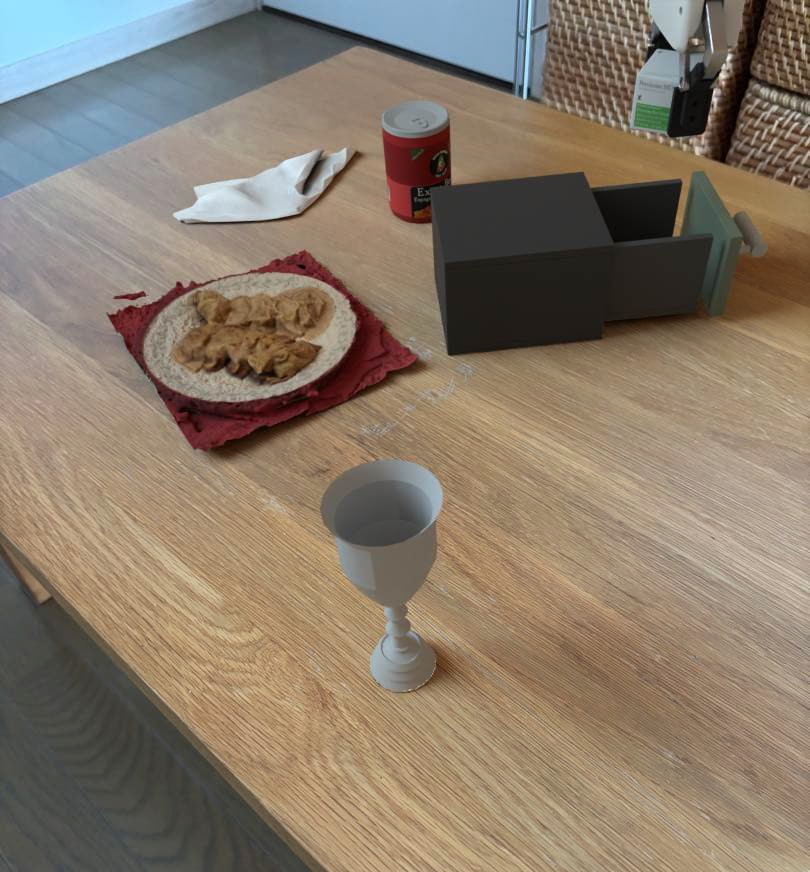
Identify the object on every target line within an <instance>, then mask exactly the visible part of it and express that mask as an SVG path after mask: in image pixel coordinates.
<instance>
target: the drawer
mask: <svg viewBox="0 0 810 872" xmlns="http://www.w3.org/2000/svg"><path fill="white" fill-rule="evenodd" d="M683 183H684V182H683V180H682V178H671V179H662V180H661V179H660V180H653V181H644V182H634V183H625V184H624V183H623V184H615V185H606V186H595V187H590V188H591V190H592V193H593V195H594V198H595V200H596V202H597V205H598V207H599V209H600V212H601V214H602V216H603V219H604V221H605V224H606V226H607V228H608V231H609V233H610V235H611V238H612V240H613V242H614V245H615V246H614V252H613V260H612V268H611V275H610V283H609V290H608V298H607V305H606V313H605V321H604V322H610V321H611V322H612V321H620V320H632V319H640V318H649V317H659V316H668V315H678V314H688V313H696V312H698V308H699V303H700V298H701V299H702V301H703V303H704V305H705V307H706V309H707V311H708V313H709V315H710V317H711V318H713V317H721V316H722V317H723V316H724V313H725V309H726V306H727V302H728V298H729V295H730V290H731V286H732V283H733V278H734V275H735V271H736V267H737V264H738V259H739V256H740V255H741V254H742V255H743V254H750V255H751V257H753V258H755V259H758V258H761V257H763V256H764V255H765V254H766V253H767V252H768V249H769V247H768V244H767V243H766V241H765V240H764V238H763V236H762V235H761V233H760V231H759V230H758V228H757V227H756V226H755V224H754V222H753V221H752V219H751V217H750V216H749V214H748V213H747V212H746V211H738V212H737V213H735V214H734V215H733V216H732V215H731V214H730V212H729V210H728V209H727V206H726V205H725V203H724V202H723V200H722V199H721V197H720V195H719V194H718V192H717V190H716V189H715V187H714V185H713V183H712V182H711V181H710V179H709V176H707V174H706V172H705V171H704V170H695V171H692V172H691V177H690V181H689V186H688V192H687V196H686V201H685V207H684V211H683V218H682V223H681V228H680V233H679V235H677V236H674V231H675V225H676V220H677V216H678V211H679V205H680V199H681V194H682V189H683V185H684V184H683Z"/></svg>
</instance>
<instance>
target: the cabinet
mask: <svg viewBox="0 0 810 872" xmlns="http://www.w3.org/2000/svg"><path fill="white" fill-rule="evenodd" d="M591 188H592V187H591V186H590V183H589V182H588V178H587V177H586V174H585V172H584V171H576V172H575V171H574V172H566V173H565V172H564V173H557V174H548V175H537V176H536V175H535V176H527V177H519V178H507V179H500V180H498V179H497V180H490V181H479V182H471V183H470V182H469V183H460V184H451V185H450V186H441V187H431V188H430V194H431V214H432V221H431V232H432V234H431V235H432V251H433V253H432V254H433V273H434V275H433V276H434V282H435V283H434V284H435V289H436V295H437V300H438V305H439V306H438V307H439V312H440V318H441V324H442V331H443V335H444V341H445V347H446V352H447V356H455V355H463V354H473V353H483V352H493V351H502V350H503V351H504V350H512V349H513V350H514V349H521V348H522V349H523V348H531V347H542V346H549V345H551V346H552V345H559V344H569V343H578V342H579V343H580V342H589V341H599V340H602V339H603V336H604V335H603V334H604V328H605V327H604V326H605V322H606V321H605V313H606V305H607V298H608V290H609V283H610V275H611V268H612V260H613V252H614V246H615V245H614V242H613V240H612V238H611V235H610V233H609V231H608V228H607V226H606V224H605V221H604V219H603V216H602V214H601V212H600V209H599V207H598V205H597V202H596V200H595V198H594V195H593V193H592V190H591Z"/></svg>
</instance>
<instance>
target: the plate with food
mask: <svg viewBox="0 0 810 872" xmlns="http://www.w3.org/2000/svg"><path fill="white" fill-rule="evenodd" d="M298 265H301V266H305V268H301V267H299V266H298ZM146 297H149V294H147V293H146V291H144V290H141V291H139V292H134V293H125V294H120V295H114V296H113V297H112V300H128V301H136V300H138V299H140V298H146ZM138 306H139V304H136V306H135V305H131V304H130V305H128V306H126V307H124V308H123V309H120V308H118V309H117V311H116V313H111V314H109V312H106V316H107V318H108V319H109V322H110V323H111V324H112V326H113V328H114V330H115V332H116V334H120V335H121V336H122V337H123V343H124V345H125V348H126V349H127V351H128V352H129V354H130V355H131V356H132V357H133V359H134V360H135V362H136V364H137V365H138V367H139V368H140V370H141V371H142V373H143V374H144V375H145V378H146V380H148V383H149V384H153V385H154V387H155V389H156V395H157V396H158V398H159V400H160V401H161V403H162V404H163V406H164V407H165V408H166V409H167V410H168V411H169V413H170V415H171V416H172V420H173V421H174V422H175V424H176V425H177V427H178V428H179V430H180V431H181V433H182V435H183V436H184V438H185V440H187V443H188V444H189V445H190V447H192V449H193V450H194V451H196V450H201V451H203V452H208V451H210V450H211V449H212V448H217V447H220V446H224V445H225V442H226V441H229V440H234V439H236V440H238V439H241V438H243V437H244V436H246V435H250V434H251V433H252V432H253V431H255V430H258V429H259V428H261V427H263V426H266V427H268V428H270V427H272V426H274V425H277V424H279V423H282V422H286V421H287V420H289V419H291V418H293V417H294V416H295V417H296V416H297V419H299V418H300V417H299V416H298V415H300V414H302V413H304V411H306V410H307V412H306V414H305V416H306V417H309V415H313V414H314V413H315V412H316V413H317V412H321V411H323V410H327V409H329V408H330V407H332V406H335V405H337V404H342V403H343V402H345V401H349V399H350V398H355V397H356V393H357V392H359V391H361V390H364V389H365V388H366V387H370V386H372V385H375V384H378V383H380V382H381V381H382V380H383V379H384V378H386V377H387V374H388V373H387V372H390V371H396V370H400V369H404V368H406V367H408V366H410V365H411V364H413V363H414V362H415V360H416V359H417V358H418V354H414V353H412V351H411V349H410V348H409V347H406V346H404V347H403V345H401V344H400V343H399V342H398V341H397V340H396V339H395V338H394V337H393V336H391V334H390V333H389V332H388V331H387V330H386V329H385V327H384V324H382V323H381V321H380V319H379V318H378V317H377V316H375V315H373V314H372V313H371V312H370V311H369V310H368V308H367V307H366V305H364V303H361V301H359V300H358V299H357V298H355V296H354V295H353V294H352V292H350V291H348V290H347V289H345V288H344V287H343V285H342V284H341V282H340V281H338V280H337V278H336V277H335V276H334V275H333V274H330V273H329V272H328V270H326V268H325V267H324V266H322V263H321V262H318V261H317V260H315V259H314V258H313V257H312V256H311V255H310V254H309V252H308V251H307V250H306V249H303V250H302V251H298V253H292V254H291V255H287V256H286V257H284V258H283V259H280V258H274V259H272V260H271V261H270V262H269V264H267V265H264V266H261V267H258V268H257V269H250V270H249V271H247V272H242V273H237V274H229V275H225V276H223V277H218V278H217V279H210V280H207V281H205V282H197V283H196V281H195V280H190V282H189V284H188V286H187V287H184V285H183V283H182V282H181V281H175V287H173V288H171V290H169V291H168V292H167V293H166V294H164V295H163V294H162V295H161V297H160V298H159V299H157V300H156V301H152V302H151V303H147V302H144V304H142V305H141V306H139V307H138Z"/></svg>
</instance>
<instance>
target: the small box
mask: <svg viewBox="0 0 810 872" xmlns="http://www.w3.org/2000/svg"><path fill="white" fill-rule="evenodd" d="M703 56H704V55H696V56H690V72H691V70H692V69H693V68H694V66H695V65H696V64H697V63H699V62H702V61H703V59H702V58H703ZM634 85H635V86H634V92H633V93H634V94H633V99H632V107H631V114H630V122H629V129H630V130H631V131H642V132H647V133H648V132H649V133H653V134H654V133H656V134H660V135H666V136H668V134H667V126H668V120H669V114H670V108H671V102H672V96H673V90H674V87H679V52H677V51H671V50H663V49H657V50H656V51H655V52H654V54H653V55H652V56H651V57H650V59H649V60H648V61H647V63H646V64H645V63H644V65H643V66H642V68H640V70H639V71H638V73H637V74H636V78H635V84H634ZM712 102H713V100H712V101H711V104H712ZM711 109H712V105H711V106H710V111H709V113H711ZM693 137H694V136H686V137H681V138H683V139H685V140H692V139H693Z"/></svg>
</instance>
